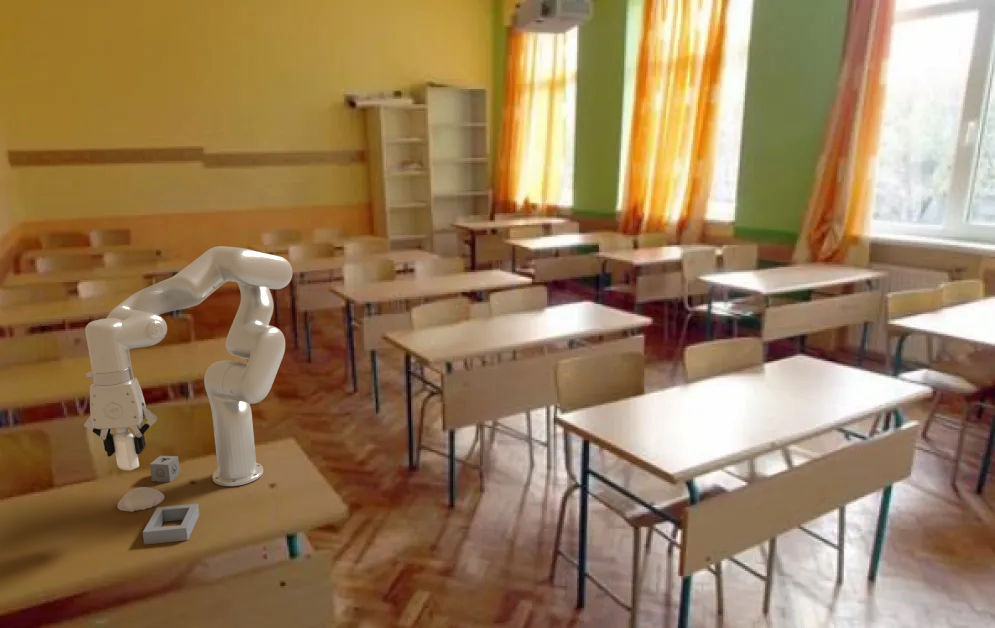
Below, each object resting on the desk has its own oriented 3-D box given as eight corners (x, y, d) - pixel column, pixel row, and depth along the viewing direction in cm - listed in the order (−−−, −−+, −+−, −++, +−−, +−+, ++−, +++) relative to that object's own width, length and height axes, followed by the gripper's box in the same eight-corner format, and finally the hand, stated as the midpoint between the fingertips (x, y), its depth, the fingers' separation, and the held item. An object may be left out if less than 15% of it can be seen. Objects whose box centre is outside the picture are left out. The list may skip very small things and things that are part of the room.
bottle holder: (158, 518, 164) (157, 507, 163) (199, 515, 165) (198, 503, 164) (144, 544, 153) (142, 532, 152) (187, 540, 155) (186, 528, 154)
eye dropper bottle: (117, 473, 153) (108, 423, 149) (117, 463, 157) (108, 414, 154) (139, 469, 154) (131, 418, 151) (138, 459, 159) (130, 410, 156)
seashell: (106, 503, 165) (124, 476, 174) (112, 521, 167) (129, 493, 176) (150, 501, 166) (166, 474, 174) (156, 519, 168) (171, 491, 177)
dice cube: (180, 473, 186) (178, 456, 185) (170, 482, 182) (168, 464, 180) (162, 473, 187) (160, 455, 186) (151, 481, 182) (149, 464, 181)
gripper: (63, 384, 146) (77, 463, 150) (149, 379, 148) (161, 457, 153) (78, 372, 153) (92, 448, 158) (160, 367, 155) (171, 442, 160)
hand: (126, 451), depth 155 cm, fingers closed on eye dropper bottle, 5 cm apart
